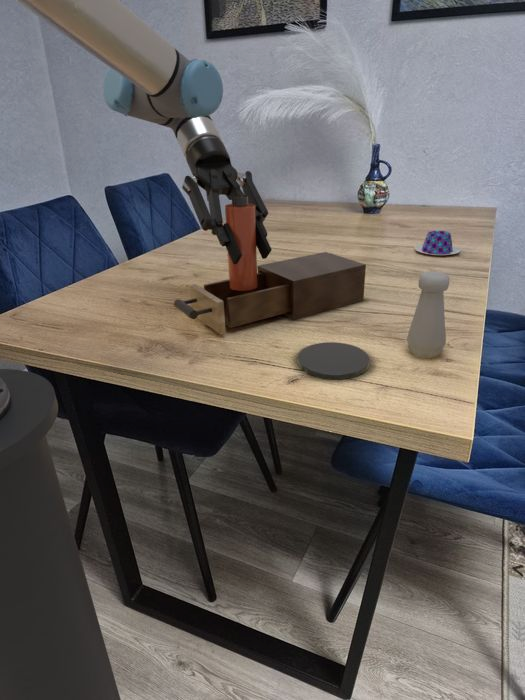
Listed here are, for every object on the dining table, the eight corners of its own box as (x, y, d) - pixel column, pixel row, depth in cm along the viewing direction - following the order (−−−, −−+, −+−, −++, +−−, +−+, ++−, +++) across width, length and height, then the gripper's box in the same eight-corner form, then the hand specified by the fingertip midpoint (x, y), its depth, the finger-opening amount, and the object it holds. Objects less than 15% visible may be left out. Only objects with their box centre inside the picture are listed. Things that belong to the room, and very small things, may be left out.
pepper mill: (224, 288, 86) (218, 197, 79) (238, 280, 90) (234, 193, 83) (248, 292, 84) (245, 199, 77) (262, 284, 88) (260, 195, 81)
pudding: (462, 258, 122) (466, 238, 120) (414, 256, 125) (416, 236, 123) (457, 247, 133) (460, 228, 130) (413, 245, 136) (415, 227, 133)
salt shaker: (440, 345, 77) (452, 268, 71) (447, 362, 72) (460, 279, 66) (403, 344, 78) (412, 267, 72) (407, 359, 73) (417, 278, 67)
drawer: (197, 340, 79) (193, 308, 77) (171, 319, 88) (167, 289, 85) (297, 313, 89) (297, 283, 86) (265, 296, 98) (264, 269, 95)
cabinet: (293, 320, 88) (293, 281, 85) (258, 301, 98) (257, 265, 95) (363, 300, 96) (366, 264, 93) (324, 285, 106) (325, 251, 103)
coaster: (285, 370, 71) (285, 365, 70) (313, 341, 79) (313, 337, 79) (356, 386, 66) (356, 381, 66) (377, 354, 75) (378, 349, 74)
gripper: (240, 162, 94) (287, 260, 89) (153, 168, 86) (199, 277, 80) (253, 133, 88) (304, 237, 83) (161, 137, 79) (211, 253, 74)
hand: (252, 256), depth 81 cm, fingers closed on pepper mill, 5 cm apart
